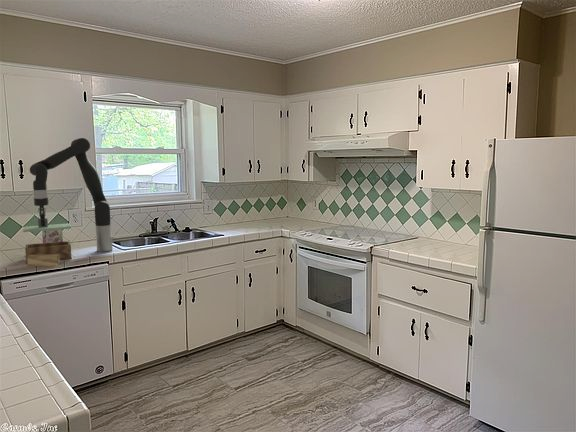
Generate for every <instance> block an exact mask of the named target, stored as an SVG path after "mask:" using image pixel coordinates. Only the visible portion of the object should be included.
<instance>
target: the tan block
mask: <svg viewBox="0 0 576 432" xmlns="http://www.w3.org/2000/svg"><path fill="white" fill-rule="evenodd" d="M27 262H28V264H27V267H50V266H51V267H57V266H59V265H60V263H61V260H59V254H50V255H29V256H27Z"/></svg>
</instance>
